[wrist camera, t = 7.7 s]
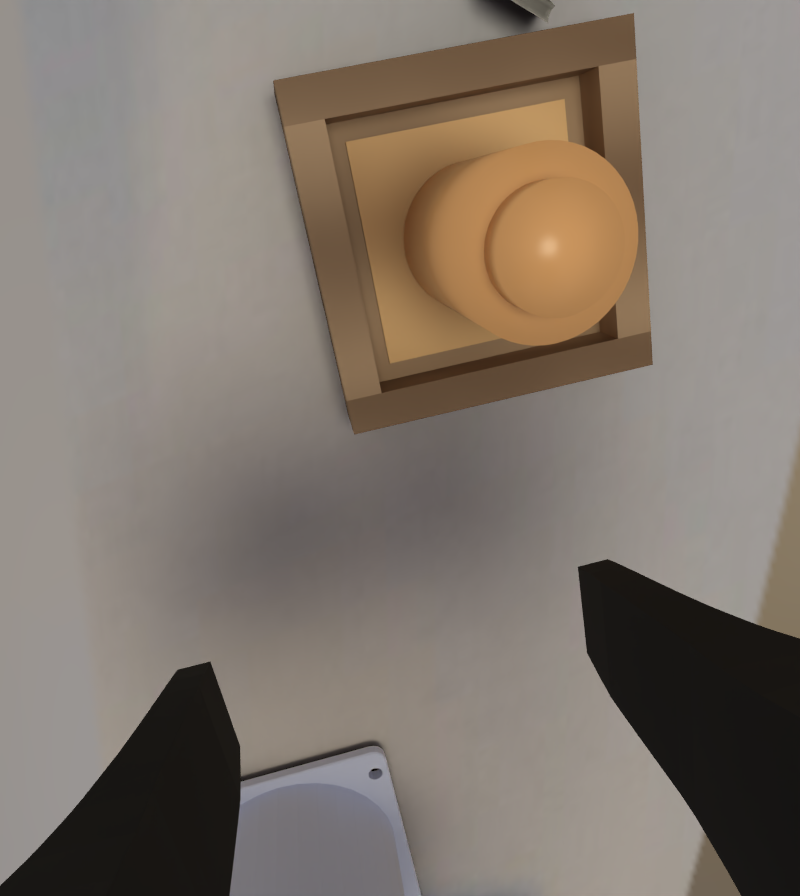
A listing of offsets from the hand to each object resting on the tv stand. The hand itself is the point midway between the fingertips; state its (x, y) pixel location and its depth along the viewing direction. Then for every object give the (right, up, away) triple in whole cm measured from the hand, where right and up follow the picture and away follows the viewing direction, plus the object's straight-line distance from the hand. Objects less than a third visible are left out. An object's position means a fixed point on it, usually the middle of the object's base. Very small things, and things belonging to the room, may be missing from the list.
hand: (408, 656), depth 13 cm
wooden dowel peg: (+2, +10, +6) cm, 12 cm away
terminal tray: (+2, +10, +7) cm, 12 cm away
